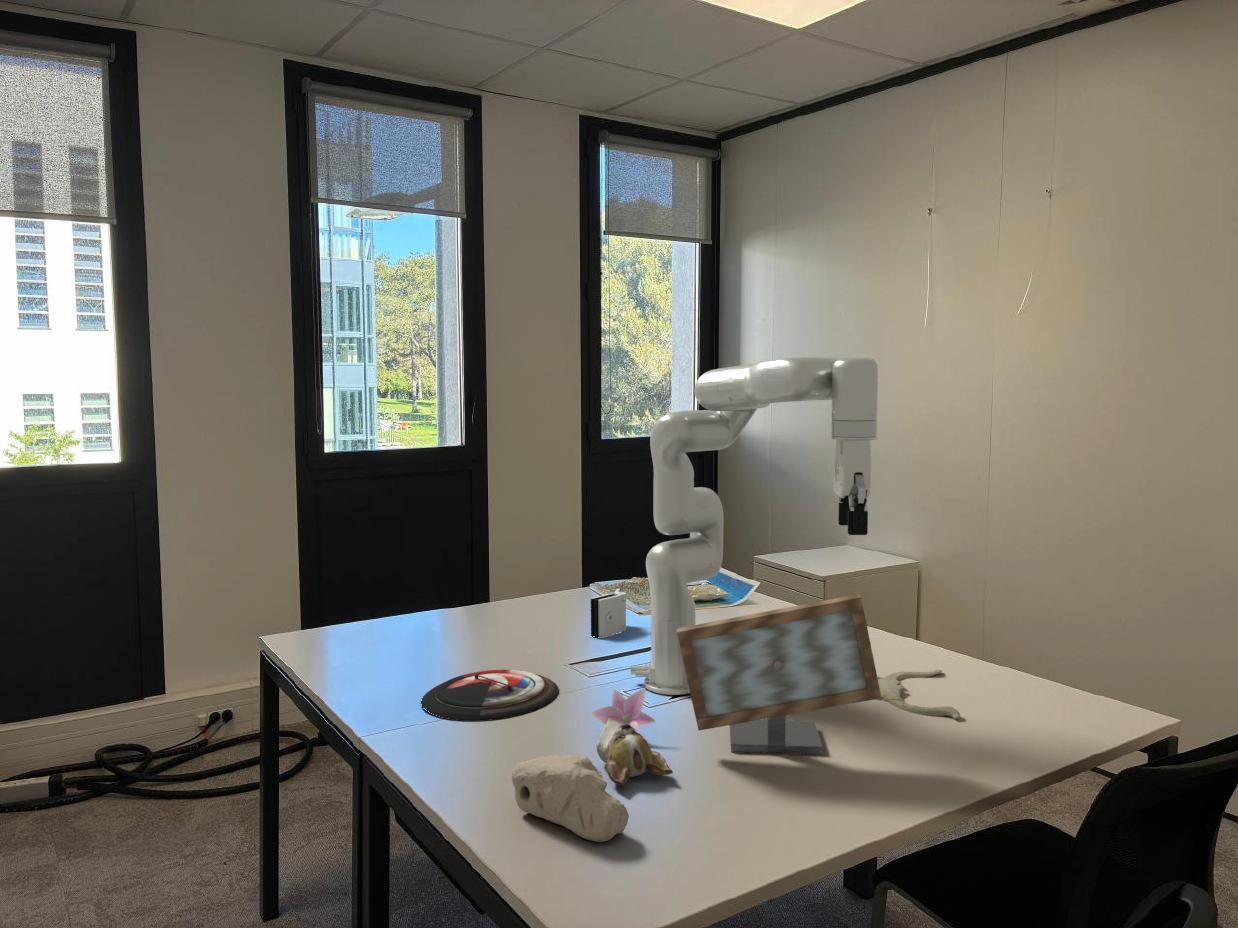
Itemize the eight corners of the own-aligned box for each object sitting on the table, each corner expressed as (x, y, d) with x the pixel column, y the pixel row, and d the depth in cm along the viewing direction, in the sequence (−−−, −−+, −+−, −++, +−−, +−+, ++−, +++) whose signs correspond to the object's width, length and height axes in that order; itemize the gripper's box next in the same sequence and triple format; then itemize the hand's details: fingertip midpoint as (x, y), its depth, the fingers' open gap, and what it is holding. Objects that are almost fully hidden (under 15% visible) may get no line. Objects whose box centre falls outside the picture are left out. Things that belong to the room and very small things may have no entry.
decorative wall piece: (803, 716, 186) (962, 725, 180) (803, 702, 186) (962, 710, 180) (804, 668, 216) (940, 674, 210) (804, 656, 216) (941, 661, 210)
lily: (586, 738, 176) (582, 707, 171) (627, 704, 182) (624, 673, 177) (628, 771, 169) (624, 740, 164) (669, 735, 175) (666, 704, 170)
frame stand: (731, 752, 167) (731, 648, 165) (729, 726, 179) (729, 629, 177) (822, 754, 165) (823, 649, 163) (814, 728, 177) (815, 630, 175)
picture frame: (698, 731, 164) (676, 632, 162) (698, 725, 167) (677, 628, 165) (882, 699, 160) (861, 597, 159) (879, 693, 163) (858, 593, 162)
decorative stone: (504, 811, 145) (502, 749, 144) (538, 794, 151) (537, 734, 150) (602, 853, 132) (601, 786, 131) (635, 833, 138) (635, 768, 137)
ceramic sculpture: (636, 704, 167) (677, 738, 153) (636, 749, 168) (676, 787, 154) (581, 714, 162) (617, 750, 149) (581, 761, 163) (617, 801, 150)
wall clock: (504, 677, 217) (393, 702, 195) (505, 657, 217) (393, 680, 195) (585, 703, 199) (473, 734, 177) (586, 681, 199) (474, 710, 176)
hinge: (617, 624, 251) (617, 588, 250) (634, 627, 248) (634, 590, 247) (588, 637, 239) (588, 598, 238) (605, 640, 237) (605, 601, 236)
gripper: (824, 427, 169) (823, 521, 170) (839, 434, 151) (838, 538, 153) (866, 427, 168) (865, 521, 170) (886, 434, 151) (884, 538, 153)
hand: (852, 529), depth 161 cm, fingers open, 9 cm apart
